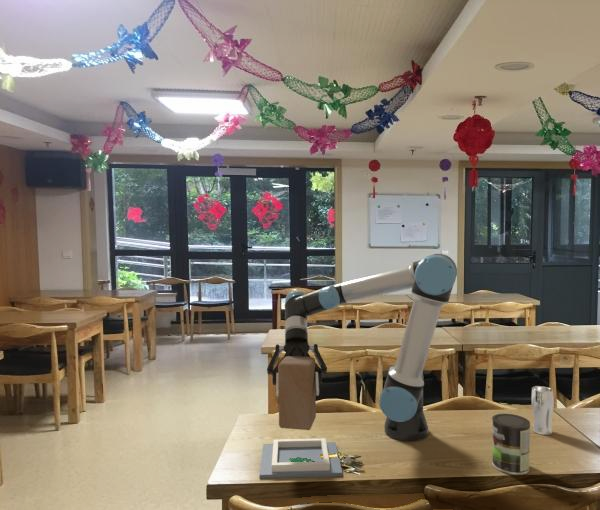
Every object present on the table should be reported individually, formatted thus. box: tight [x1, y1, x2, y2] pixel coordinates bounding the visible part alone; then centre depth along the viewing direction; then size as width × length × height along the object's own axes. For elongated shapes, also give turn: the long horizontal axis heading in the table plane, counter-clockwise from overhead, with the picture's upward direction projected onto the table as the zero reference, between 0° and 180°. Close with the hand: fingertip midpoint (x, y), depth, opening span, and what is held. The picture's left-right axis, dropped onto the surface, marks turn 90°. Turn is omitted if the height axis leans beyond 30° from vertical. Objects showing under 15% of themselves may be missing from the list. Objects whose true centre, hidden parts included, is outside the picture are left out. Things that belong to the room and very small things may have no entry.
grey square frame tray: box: [259, 437, 343, 479], centre depth 144 cm, size 24×20×3 cm
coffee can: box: [491, 413, 531, 476], centre depth 138 cm, size 10×10×14 cm
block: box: [278, 356, 317, 431], centre depth 143 cm, size 10×10×20 cm
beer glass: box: [530, 385, 555, 436], centre depth 162 cm, size 7×7×15 cm
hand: (297, 393), depth 140 cm, fingers closed on block, 11 cm apart
